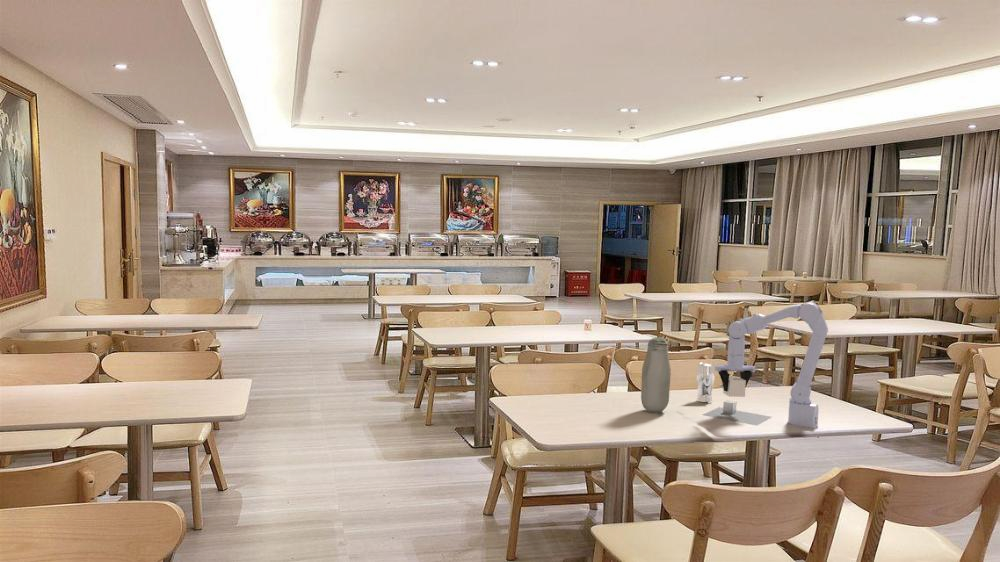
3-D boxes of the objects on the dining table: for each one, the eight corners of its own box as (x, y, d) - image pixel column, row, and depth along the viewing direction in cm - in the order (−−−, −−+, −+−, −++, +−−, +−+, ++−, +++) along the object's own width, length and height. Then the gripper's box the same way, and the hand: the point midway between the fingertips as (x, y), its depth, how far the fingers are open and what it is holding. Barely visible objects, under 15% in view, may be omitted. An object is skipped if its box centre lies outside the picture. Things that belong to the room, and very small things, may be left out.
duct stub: (735, 415, 271) (736, 401, 270) (732, 417, 268) (733, 403, 268) (726, 413, 273) (727, 400, 273) (722, 415, 270) (723, 401, 270)
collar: (738, 393, 270) (739, 377, 270) (744, 396, 264) (745, 380, 264) (723, 392, 270) (724, 376, 269) (729, 396, 264) (730, 380, 263)
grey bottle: (657, 416, 266) (660, 340, 264) (635, 410, 274) (638, 336, 272) (673, 412, 272) (677, 338, 270) (652, 407, 280) (655, 334, 278)
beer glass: (699, 398, 297) (701, 362, 296) (716, 401, 293) (718, 364, 292) (692, 401, 292) (694, 364, 291) (708, 404, 287) (710, 366, 286)
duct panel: (772, 420, 266) (772, 416, 266) (757, 428, 253) (757, 425, 253) (718, 410, 278) (719, 407, 278) (702, 418, 266) (702, 414, 265)
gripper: (750, 352, 271) (748, 388, 272) (712, 352, 269) (710, 388, 270) (758, 356, 264) (756, 393, 265) (720, 355, 262) (718, 392, 263)
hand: (734, 390), depth 267 cm, fingers closed on collar, 6 cm apart
